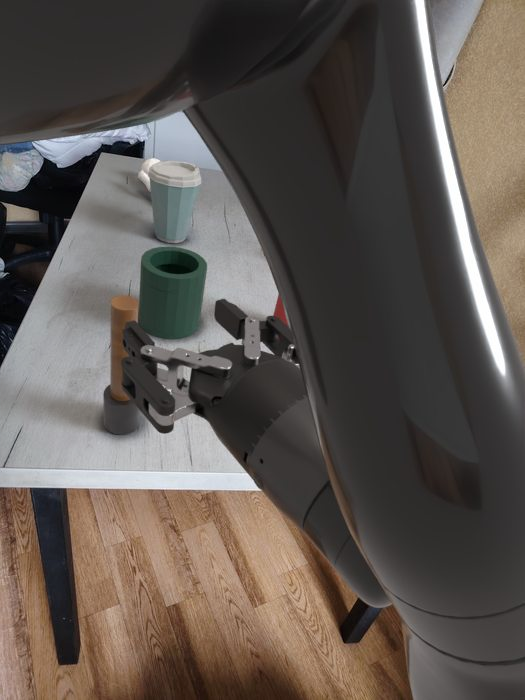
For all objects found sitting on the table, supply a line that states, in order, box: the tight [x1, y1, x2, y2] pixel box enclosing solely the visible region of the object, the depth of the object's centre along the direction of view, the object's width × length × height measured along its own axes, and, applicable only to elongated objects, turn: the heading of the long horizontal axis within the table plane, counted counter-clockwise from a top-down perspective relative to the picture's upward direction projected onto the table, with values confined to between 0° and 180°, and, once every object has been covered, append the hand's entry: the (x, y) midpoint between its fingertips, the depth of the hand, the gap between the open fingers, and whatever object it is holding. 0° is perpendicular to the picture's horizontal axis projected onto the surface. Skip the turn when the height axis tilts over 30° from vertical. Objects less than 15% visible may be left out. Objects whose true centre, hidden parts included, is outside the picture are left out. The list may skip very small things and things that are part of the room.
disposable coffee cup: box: [148, 160, 202, 244], centre depth 98 cm, size 11×11×15 cm
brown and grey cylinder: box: [102, 294, 142, 436], centre depth 55 cm, size 4×4×18 cm
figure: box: [137, 157, 162, 193], centre depth 118 cm, size 11×7×20 cm
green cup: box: [138, 246, 208, 340], centre depth 76 cm, size 10×10×11 cm
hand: (175, 318), depth 41 cm, fingers open, 8 cm apart
